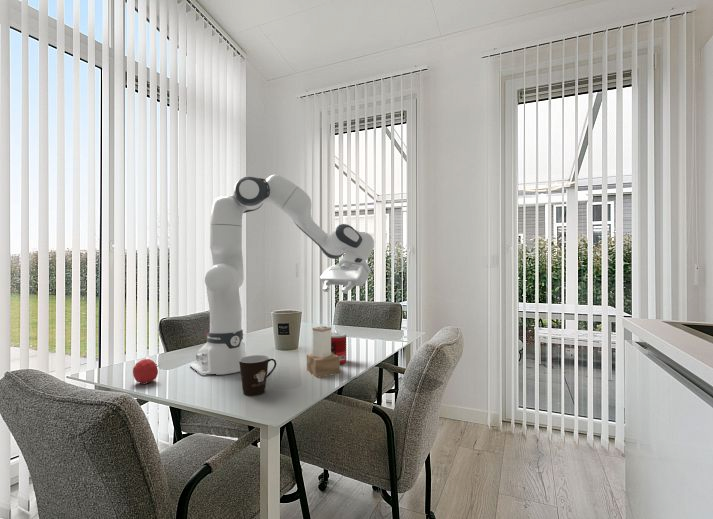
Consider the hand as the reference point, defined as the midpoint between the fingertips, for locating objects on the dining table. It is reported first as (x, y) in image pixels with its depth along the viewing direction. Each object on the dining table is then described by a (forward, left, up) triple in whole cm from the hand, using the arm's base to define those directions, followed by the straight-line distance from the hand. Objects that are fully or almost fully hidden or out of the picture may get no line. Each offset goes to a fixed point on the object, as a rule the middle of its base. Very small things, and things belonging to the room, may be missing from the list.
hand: (334, 291), depth 133 cm
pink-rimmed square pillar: (0, -7, -22) cm, 23 cm away
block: (0, -6, -28) cm, 29 cm away
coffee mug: (-2, -32, -28) cm, 43 cm away
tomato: (-39, -49, -28) cm, 69 cm away
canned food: (-4, +6, -28) cm, 29 cm away
